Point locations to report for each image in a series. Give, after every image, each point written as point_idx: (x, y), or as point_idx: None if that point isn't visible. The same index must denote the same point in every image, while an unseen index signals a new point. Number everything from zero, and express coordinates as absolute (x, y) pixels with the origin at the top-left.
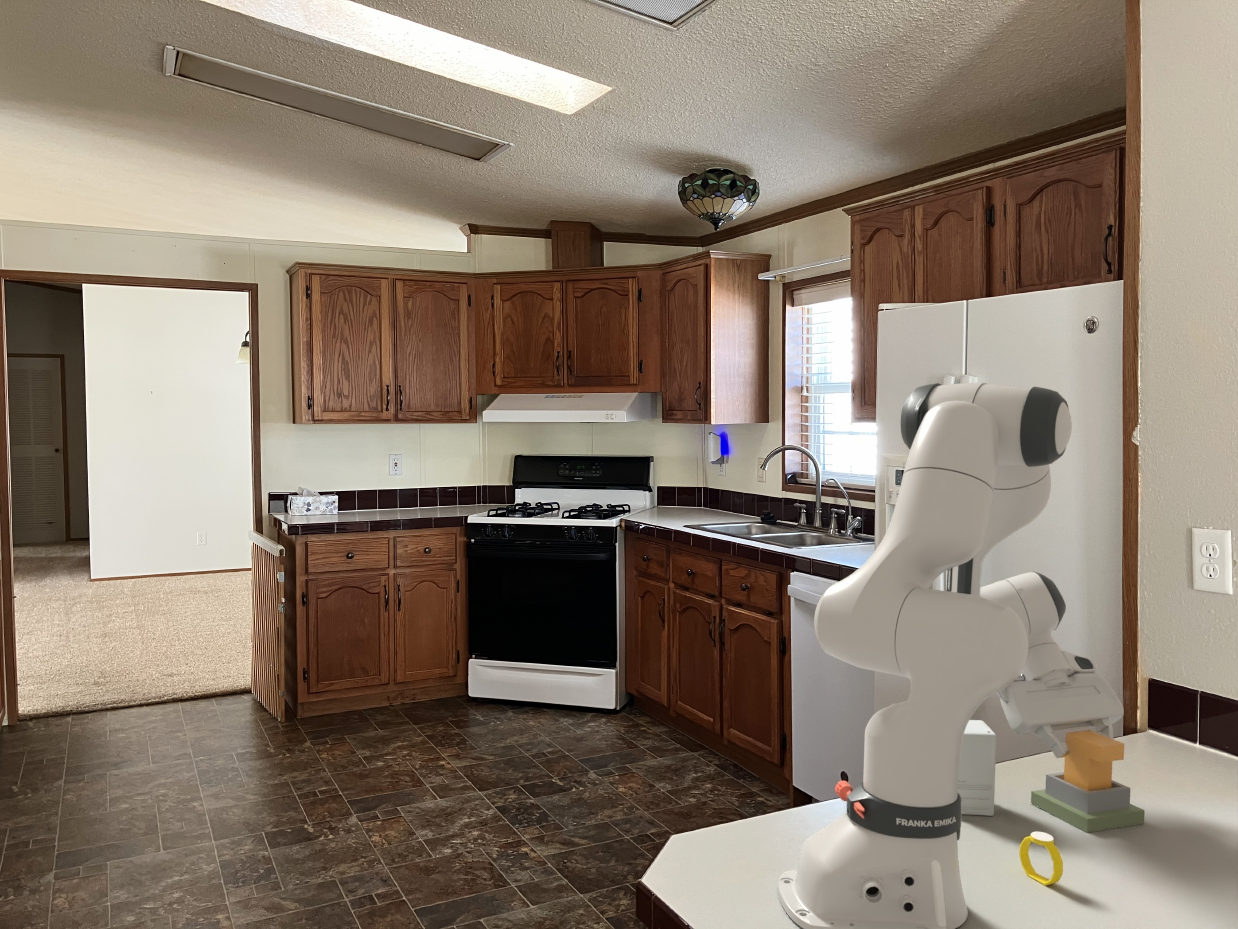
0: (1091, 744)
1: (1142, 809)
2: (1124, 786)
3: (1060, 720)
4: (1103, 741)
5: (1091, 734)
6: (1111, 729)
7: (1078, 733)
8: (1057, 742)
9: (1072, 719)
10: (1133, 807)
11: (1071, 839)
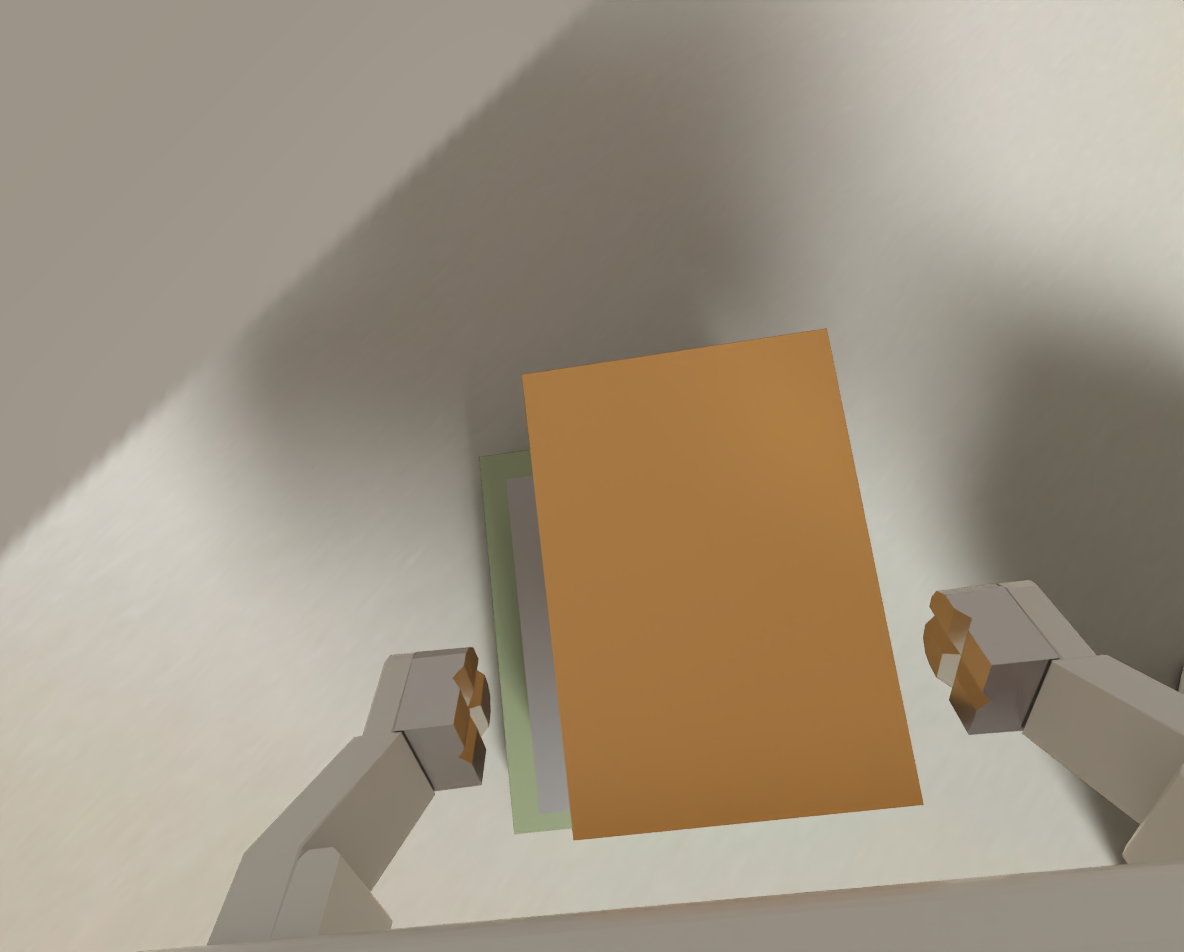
0: (846, 438)
1: (482, 465)
2: (521, 507)
3: (1122, 874)
4: (689, 458)
5: (654, 691)
6: (307, 803)
7: (785, 749)
8: (1095, 656)
9: (874, 893)
10: (507, 493)
11: (930, 376)
